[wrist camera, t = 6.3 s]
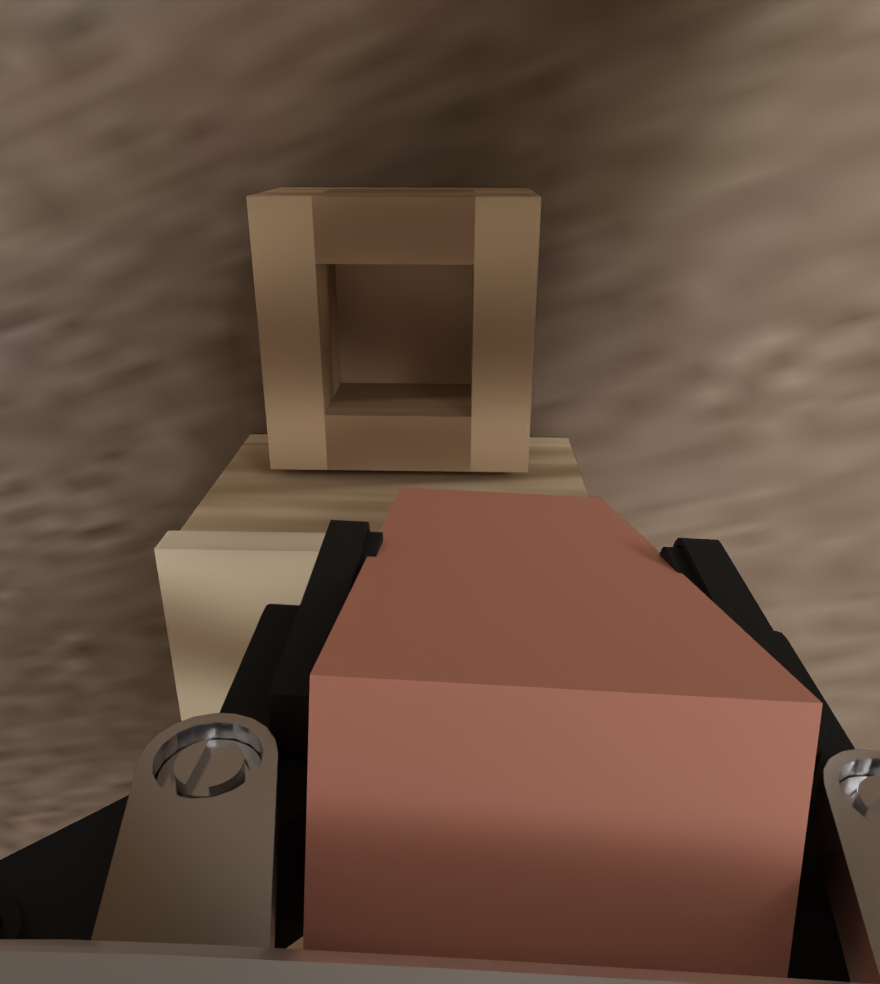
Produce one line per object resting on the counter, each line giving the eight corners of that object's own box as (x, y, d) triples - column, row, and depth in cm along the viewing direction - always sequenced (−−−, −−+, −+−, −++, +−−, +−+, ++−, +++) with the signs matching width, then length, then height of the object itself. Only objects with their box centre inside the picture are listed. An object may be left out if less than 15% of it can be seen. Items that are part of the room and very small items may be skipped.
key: (401, 487, 16) (309, 675, 6) (600, 497, 16) (823, 703, 6) (393, 676, 17) (298, 1117, 7) (585, 687, 17) (764, 1146, 7)
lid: (168, 530, 24) (96, 624, 20) (611, 537, 24) (647, 634, 19) (235, 981, 33) (196, 1125, 28) (567, 991, 32) (584, 1138, 28)
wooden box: (225, 187, 29) (132, 205, 21) (585, 188, 29) (633, 207, 21) (286, 804, 41) (241, 971, 33) (542, 810, 41) (561, 980, 32)
